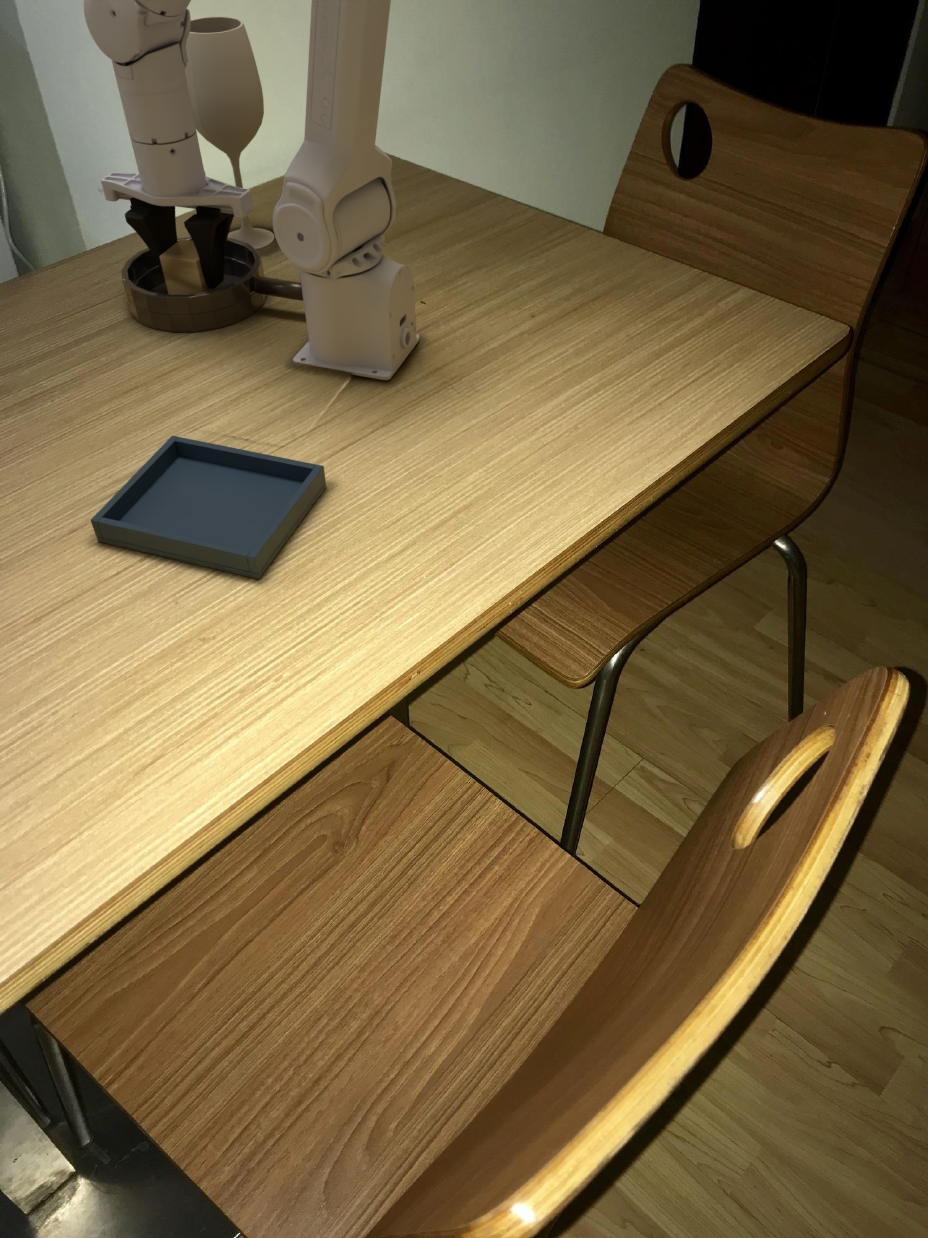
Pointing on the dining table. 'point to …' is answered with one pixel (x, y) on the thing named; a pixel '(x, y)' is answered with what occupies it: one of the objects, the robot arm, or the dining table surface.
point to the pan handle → (277, 288)
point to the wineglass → (226, 97)
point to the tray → (211, 506)
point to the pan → (199, 308)
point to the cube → (184, 270)
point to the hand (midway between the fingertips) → (195, 280)
